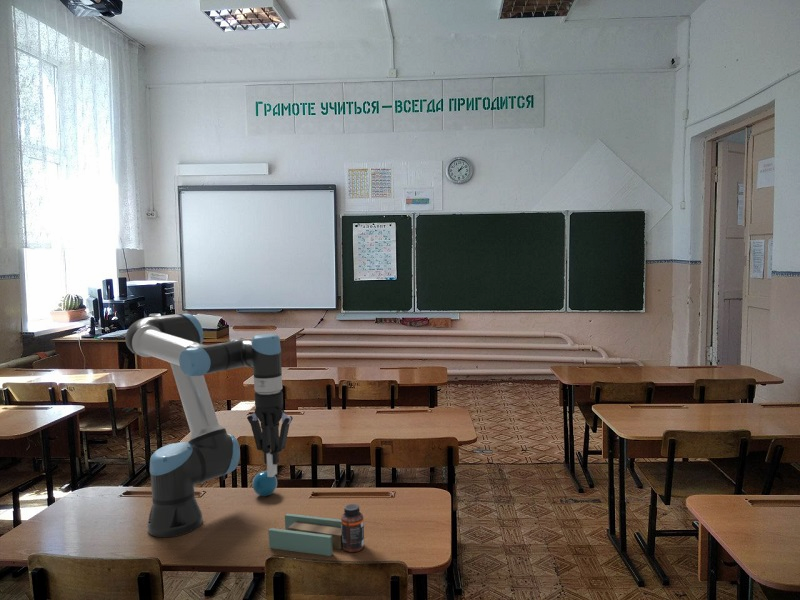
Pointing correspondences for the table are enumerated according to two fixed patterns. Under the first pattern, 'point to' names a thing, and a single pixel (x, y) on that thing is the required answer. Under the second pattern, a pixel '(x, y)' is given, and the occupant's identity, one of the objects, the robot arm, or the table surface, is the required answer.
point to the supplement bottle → (352, 529)
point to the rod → (320, 531)
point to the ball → (264, 484)
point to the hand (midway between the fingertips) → (272, 475)
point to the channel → (303, 536)
